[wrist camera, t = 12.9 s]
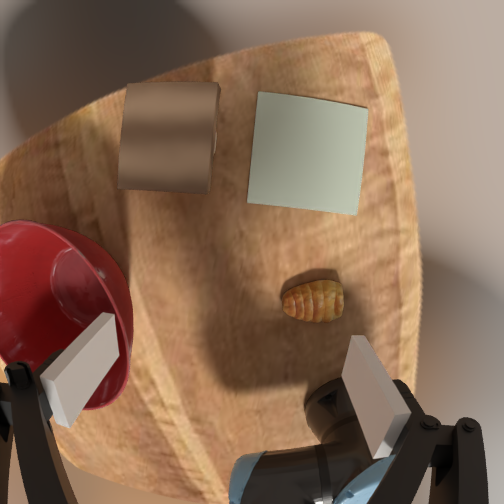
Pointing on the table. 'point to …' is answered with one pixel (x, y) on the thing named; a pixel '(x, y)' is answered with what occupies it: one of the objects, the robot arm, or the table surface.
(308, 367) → the table surface
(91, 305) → the mixing bowl
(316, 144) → the mat
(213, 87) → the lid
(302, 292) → the pastry
